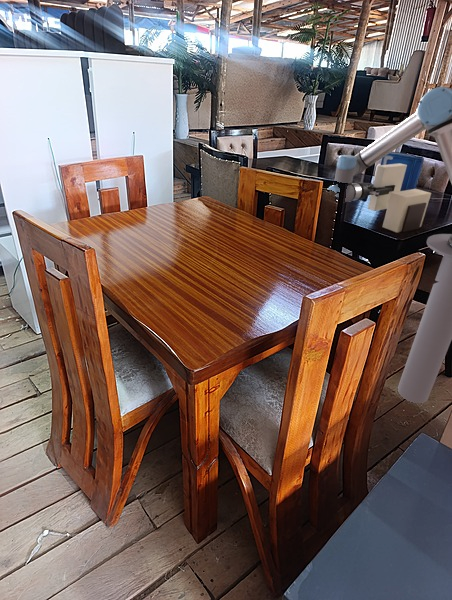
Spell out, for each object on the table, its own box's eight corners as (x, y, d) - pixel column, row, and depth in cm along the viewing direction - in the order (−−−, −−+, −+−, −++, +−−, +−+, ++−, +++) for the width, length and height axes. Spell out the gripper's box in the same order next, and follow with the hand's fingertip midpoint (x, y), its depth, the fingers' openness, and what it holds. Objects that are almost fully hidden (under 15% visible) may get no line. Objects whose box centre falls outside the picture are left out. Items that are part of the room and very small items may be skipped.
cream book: (395, 207, 195) (407, 165, 185) (374, 211, 188) (384, 167, 178) (389, 204, 198) (399, 163, 188) (367, 208, 190) (377, 165, 180)
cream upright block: (422, 227, 187) (433, 193, 179) (398, 233, 178) (408, 197, 170) (406, 221, 193) (415, 188, 185) (382, 227, 185) (391, 192, 177)
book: (413, 201, 227) (426, 155, 215) (411, 203, 222) (423, 156, 209) (375, 194, 237) (384, 150, 224) (372, 197, 231) (381, 151, 219)
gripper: (340, 195, 185) (373, 190, 197) (369, 205, 173) (402, 199, 185) (343, 178, 182) (377, 174, 193) (373, 187, 169) (407, 183, 181)
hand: (389, 186), depth 189 cm, fingers closed on cream book, 4 cm apart
